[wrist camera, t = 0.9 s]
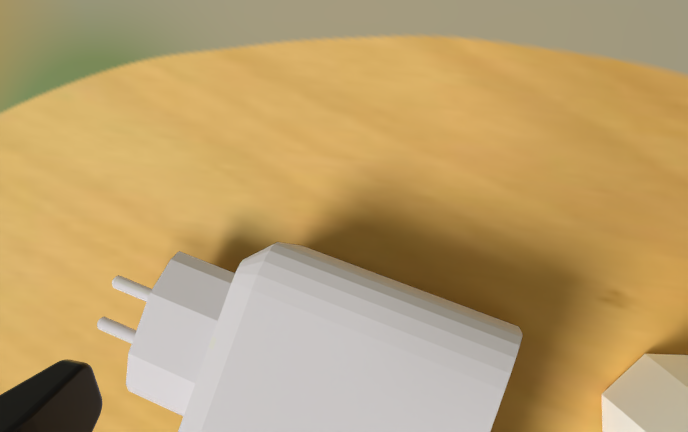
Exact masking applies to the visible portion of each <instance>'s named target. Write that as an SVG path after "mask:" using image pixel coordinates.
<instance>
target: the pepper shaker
mask: <svg viewBox="0 0 688 432" xmlns="http://www.w3.org/2000/svg"><path fill="white" fill-rule="evenodd" d="M602 430H603V432H688V355H671V354H644V355H643V356H642V357H641V358H640V359H639V360H638V361H636V362H635V363H634V364H633V365H632V366H631V367H630V368H629V369H628V370H627V371H626V372H625V373H624V374H623V375H621V376H620V377H619V378H618V379H617V380H616V381H615V382H614V383H613V384H612V385H611V386H610V387H609V388H608V389H607V390H605V391H604V392H603V393H602Z"/></svg>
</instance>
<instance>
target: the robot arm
mask: <svg viewBox="0 0 688 432" xmlns="http://www.w3.org/2000/svg"><path fill="white" fill-rule="evenodd" d="M101 409H102V397H101V394H100V391H99V388H98V385H97V382H96V379H95V376H94V373H93V370H92V368H91V366H90V365H88V364H87V363H84V362H78V361H73V360H62V361H59V362H57V363H55V364H54V365H52V366H50V367H48V368H47V369H45V370H43V371H41V372H40V373H38V374H36V375H34V376H33V377H31V378H29V379H27V380H26V381H24V382H22V383H20V384H19V385H17V386H15V387H14V388H12V389H10V390H8V391H7V392H5V393H3V394H1V395H0V432H92V431H93V429H94V427H95V424H96V422H97V420H98V418H99V416H100V413H101Z"/></svg>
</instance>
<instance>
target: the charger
mask: <svg viewBox="0 0 688 432" xmlns="http://www.w3.org/2000/svg"><path fill="white" fill-rule="evenodd" d="M112 285H113V288H115V289H117V290H120V291H122V292H125V293H127V294H129V295H132V296H134V297H136V298H139V299H141V300H143V301H146V302H147V303H146V306H145V309H144V311H143V314H142V317H141V320H140V323H139V325H138V328H137V331H136V330H134V329H132V328H129V327H127V326H125V325H122V324H120V323H118V322H115V321H113V320H111V319H109V318H106V317H102V318H100V319H99V321H98V323H97V327H98V329H99V330H102V331H104V332H106V333H108V334H111V335H113V336H115V337H117V338H120V339H122V340H124V341H126V342H129V343H131V344H132V345H131V348H130V350H129V353H128V365H127V378H126V385H127V388H128V390H129V391H130V392H132V393H134V394H136V395H139V396H141V397H143V398H145V399H147V400H149V401H152V402H154V403H156V404H158V405H160V406H162V407H164V408H167V409H169V410H171V411H173V412H175V413H177V414H180V415H182V416H184V417H183V420H182V422H181V425H180V428H179V431H178V432H490V431H491V428H492V426H493V423H494V420H495V417H496V414H497V411H498V409H499V406H500V403H501V400H502V397H503V395H504V392H505V389H506V386H507V383H508V380H509V377H510V375H511V372H512V369H513V366H514V363H515V360H516V356H517V353H518V350H519V347H520V343H521V340H522V335H523V334H522V332H521V330H520V328H519V326H516V325H513V324H511V323H508V322H505V321H503V320H500V319H497V318H495V317H492V316H489V315H487V314H484V313H481V312H478V311H476V310H473V309H470V308H468V307H465V306H462V305H460V304H457V303H454V302H452V301H449V300H446V299H444V298H441V297H438V296H436V295H433V294H430V293H428V292H425V291H422V290H420V289H417V288H414V287H411V286H409V285H406V284H403V283H401V282H398V281H395V280H393V279H390V278H387V277H385V276H382V275H379V274H377V273H374V272H371V271H369V270H366V269H363V268H361V267H358V266H355V265H353V264H350V263H347V262H344V261H342V260H339V259H336V258H334V257H331V256H328V255H326V254H323V253H320V252H318V251H315V250H312V249H310V248H307V247H304V246H301V245H294V244H288V243H281V242H277V243H275V244H273V245H271V246H269V247H267V248H265V249H263V250H261V251H259V252H257V253H255V254H253V255H251V256H249V257H247V258H245V259H243V260H242V262H241V263H240V265H239V266H238V268H237V270H236V273H233V272H231V271H228V270H225V269H223V268H220V267H218V266H215V265H213V264H210V263H208V262H205V261H203V260H200V259H198V258H195V257H193V256H190V255H187V254H185V253H182V252H180V251H179V252H178V253H177V254H176V255H175V256H174V257H173V258H172V259H171V260H170V262H169V263H168V265H167V266H166V268H165V270H164V271H163V273H162V275H161V276H160V278H159V279H158V281H157V283H156V284H155V286H154V287H153V289H151V288H148V287H146V286H143V285H141V284H139V283H136V282H134V281H131V280H129V279H127V278H124V277H122V276H119V275H118V276H116V277H115V278H114V279H113V281H112Z"/></svg>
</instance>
